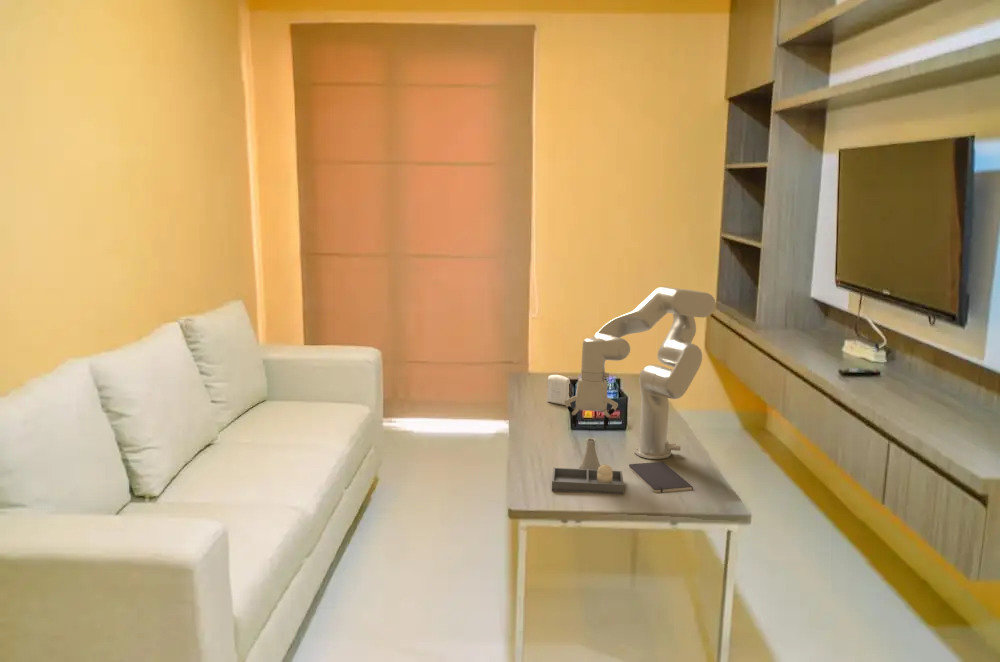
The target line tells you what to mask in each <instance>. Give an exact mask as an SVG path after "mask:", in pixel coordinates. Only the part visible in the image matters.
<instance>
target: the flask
mask: <svg viewBox="0 0 1000 662" xmlns="http://www.w3.org/2000/svg"><path fill="white" fill-rule="evenodd" d="M585 441H586V449H585V453H584V455H583V458H582V460H581V463H580V465H579V469H592V470H598V467H599V466H601V464H600V461H599V457H598V455H597V451H596V441H597V440H596V439H595V438H592V437H591V438H586V440H585Z"/></svg>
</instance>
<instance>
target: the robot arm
mask: <svg viewBox="0 0 1000 662" xmlns="http://www.w3.org/2000/svg"><path fill="white" fill-rule="evenodd" d="M715 299H716V298H715V297H714V296H713V295H712V294H711V293H709V292H705V291H699V290H698V291H697V290H693V289H685V288H684V289H683V288H677V287H671V286H670V287H669V286H660V287H657V288H655V289H654V290H653V291H652V292H651V293H649V294H648V296H646V298H644V300H642V301H641V302H640V303H639V304H638V305H637V306H636V307H635V308H634V309H632V310H631V311H629V312H626V313H625V314H622V315H620V316H618V317H615V318H613V319H612V320H610V321H608V322H606V323H605V324H604V325H603V326H601V328H600V329H599V330H598V331H597V332H596V333H595V334H594V335H593V336H592V337H586V338H584V339H583V341H582V350H581V351H582V354H581V371H580V378H578V379H577V385H576V392H575V395H574V396H571V397H569V399H567V400H565V404H566V405H565V406H566V408H567V410H568V412H570V413H571V415H572V417H571V418H572V419H571V420H572V421H571V422H572V423H571V424H573V425H574V426H573V427H574V428H576V427H577V419H578V415H577V413H578V412H579V411H585V412H586V411H589V412H590V411H591V412H602V414H604V415H603V429H604V430H607V427H608V426H609V418H610V416H611V415H612V414H614V413H615V411H616V410H617V408H618V407H619V404H618V402H616V401H614V400H613V399H611V398H609V397H608V384H607V378H609V377H610V373H608V372H606V361H615V362H617V361H622V360H624V359H626V358H627V357H628V356H629V355H630V353H631V346H630V344H629V342H628V340H626V339H625V338H623V337H624V336H627V335H632V334H638V333H639V334H640V333H644V332H647V331H650V330H652V328H654V326H656V324H657V323H658V322H659V321H660V320H661V319H662V318H664V316H666V315H667V314H672V316H673V317H672V319H673V321H672V323H671V326H670V329H669V330H668V332H667V334H666V336H665V338H664V339H663V341H662V343H661V345H660V347H659V348H658V351H657V360H658V361H659V362H660V363H661V364H663V365H664V366H661V365H658V364H649V365H646V366H645V367H643V368H642V370H640V373H639V376H638V377H639V380H638V385H639V390H640V418H639V419H640V420H639V422H640V423H639V439H638V440H639V441H638V445H636V446H635V447H634V448H633V449H634V454H636V455H637V456H638V457H641V458H645V459H649V460H662V459H667V458H669V457H671V456H672V451H675V452H676V451H681V444H677V443H675V442H673V443H671V442H669V441H668V425H669V412H670V411H669V410H670V404H669V399H671V400H678V399H681V398H682V397H683V396H684V395H685V394H686V392H687V391H688V389H689V388H690V385H691V384H692V382H693V380H694V378H695V377H696V375H697V373H698V371H699V370H700V368H701V366H702V361H703V353H702V349H701V348H700V347H699V346H698V345H696V344H695V343H692V342H693V340H694V338H695V336H696V333H697V325H696V320H695V318H708V317H709V316H711V315H712V314H713V312H714V311H715V309H716V305H717V303H716V300H715ZM665 366H668V367H671V368H673V369H671V368H668V367H665ZM573 402H575V406H574V407H572V406H571V403H573ZM608 404H609V405H611V406H612V407H611V408H609V410H608Z"/></svg>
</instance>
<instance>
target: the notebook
mask: <svg viewBox="0 0 1000 662" xmlns="http://www.w3.org/2000/svg"><path fill="white" fill-rule="evenodd" d="M628 468H629V470H630V471H631V472H633V473H634V474H635V475H636V476H637V477H638V478H639V479H640V480H641V482H643V483H644V484H645V485H646V486H647V487H648V488H649V489H650V490H651V491H652V492H654V493H665V492H675V491H678V492H679V491H686V490H687V491H688V490H693V488H694V487H693V485H691V483H689V482H688V481H687V480H685V479H684V478H683V477H682V476H681V475H680V474H679V473H677V472H676V471H675V470H674V469H672V467H670V466H669V465H668V464H666V463H665V461H655V462H654V461H653V462H652V461H651V462H641V463H629V464H628Z"/></svg>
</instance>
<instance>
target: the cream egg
mask: <svg viewBox="0 0 1000 662" xmlns="http://www.w3.org/2000/svg"><path fill="white" fill-rule="evenodd" d="M613 471H614V470H613V467H611V465H608V464H607V463H605V464H600V466H599V467H598V470H597V483H609V484H612V477H613Z"/></svg>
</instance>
